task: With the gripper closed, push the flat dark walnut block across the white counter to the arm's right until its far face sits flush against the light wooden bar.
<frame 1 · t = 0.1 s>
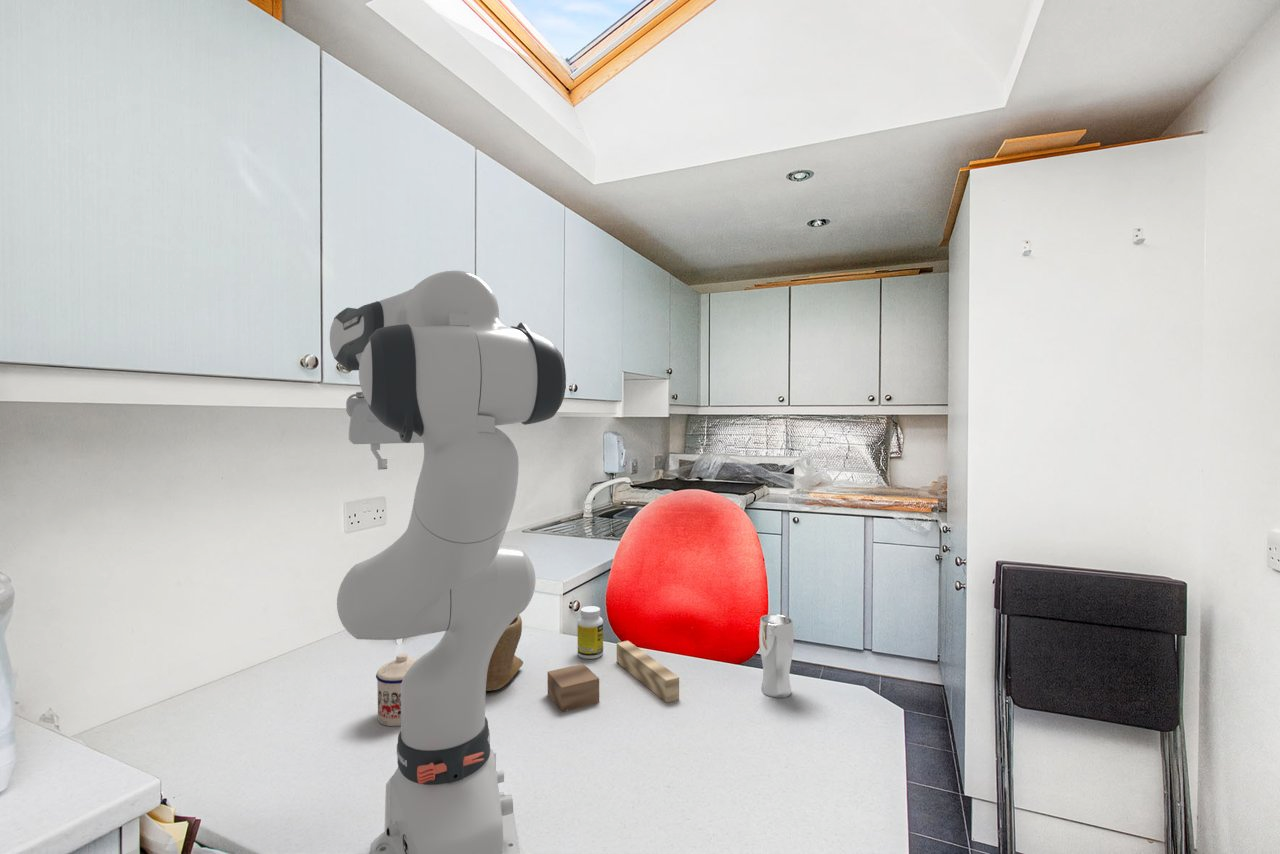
hand: (410, 468, 106), 48 cm above the countertop, tool pointing down, fingers open, 8 cm apart
stone cup: (497, 680, 126), on the countertop
block: (573, 699, 118), on the countertop
pill bottle: (590, 655, 139), on the countertop
silver metal tumbler: (776, 692, 121), on the countertop
light wooden bar: (645, 679, 126), on the countertop
teacup with lid: (409, 716, 111), on the countertop
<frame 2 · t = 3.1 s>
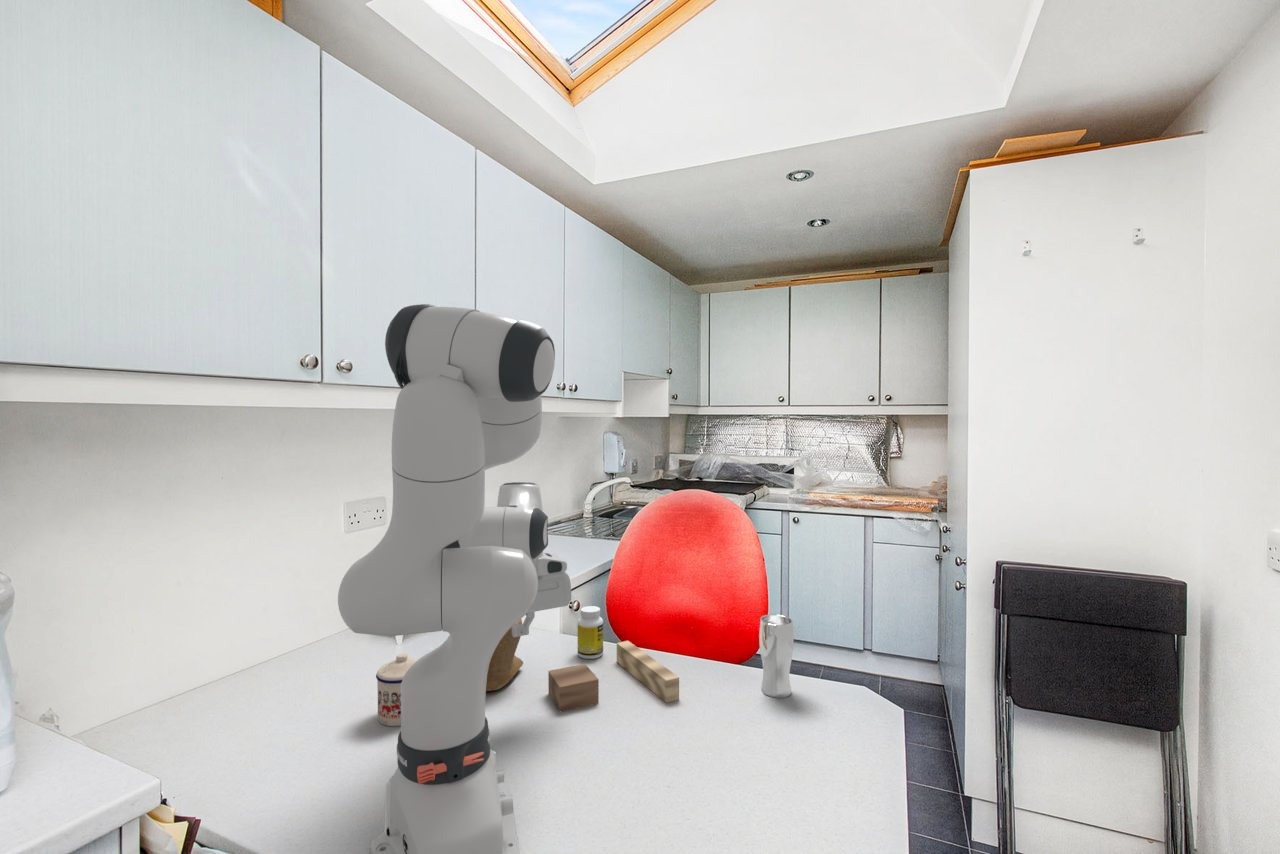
hand: (520, 635, 113), 15 cm above the countertop, tool pointing down, fingers closed
nothing on the countertop moved.
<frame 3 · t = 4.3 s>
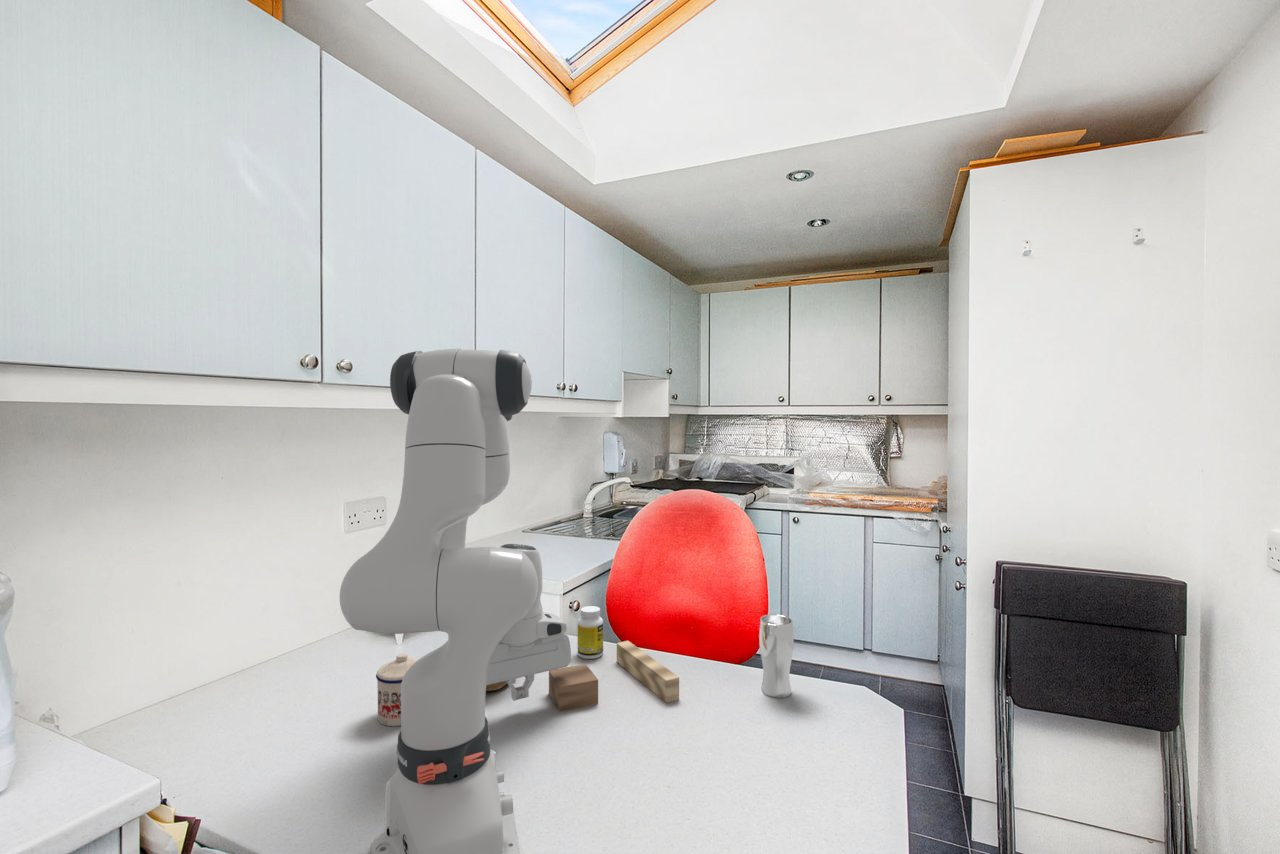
hand: (520, 697, 112), 3 cm above the countertop, tool pointing down, fingers closed
nothing on the countertop moved.
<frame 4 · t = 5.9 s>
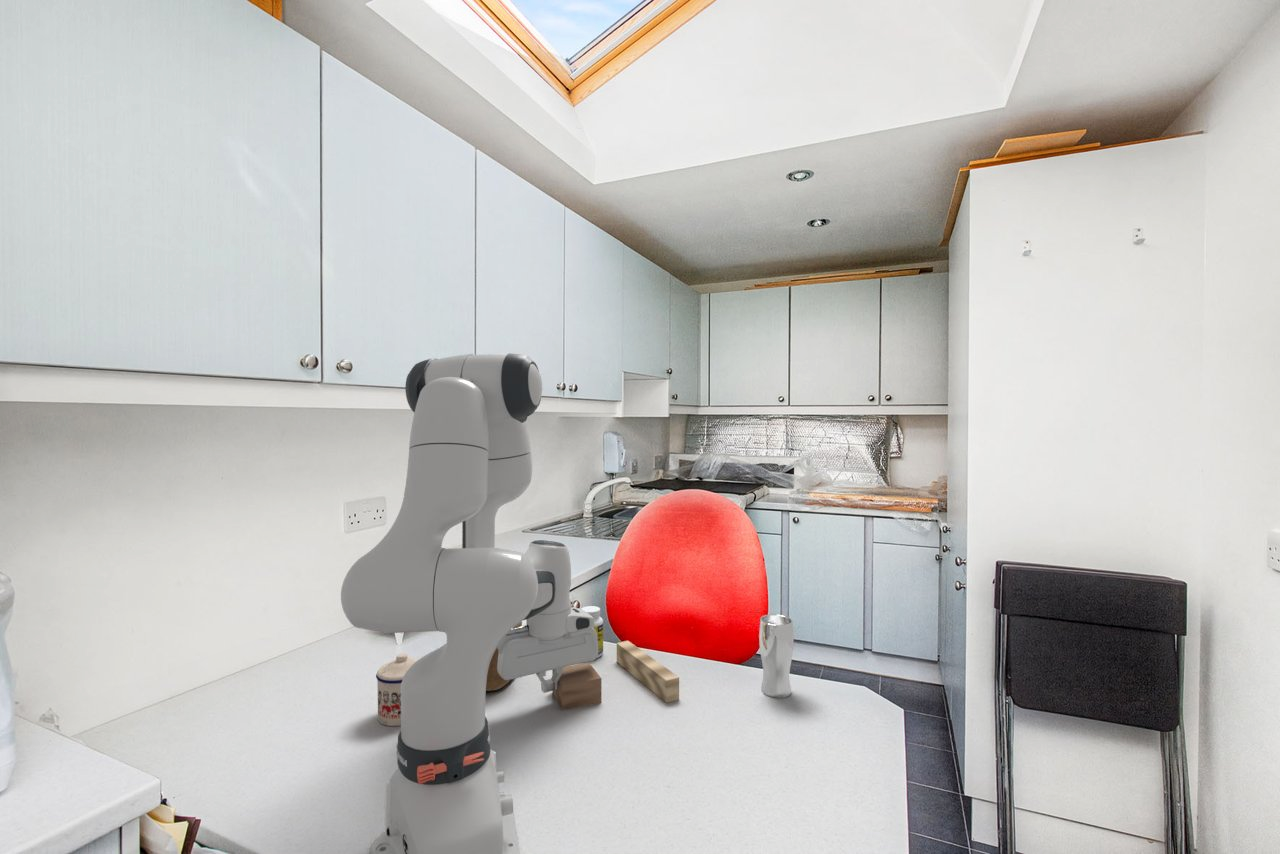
hand: (549, 690, 116), 3 cm above the countertop, tool pointing down, fingers closed
block: (576, 697, 118), on the countertop, touching gripper
everything else where it was.
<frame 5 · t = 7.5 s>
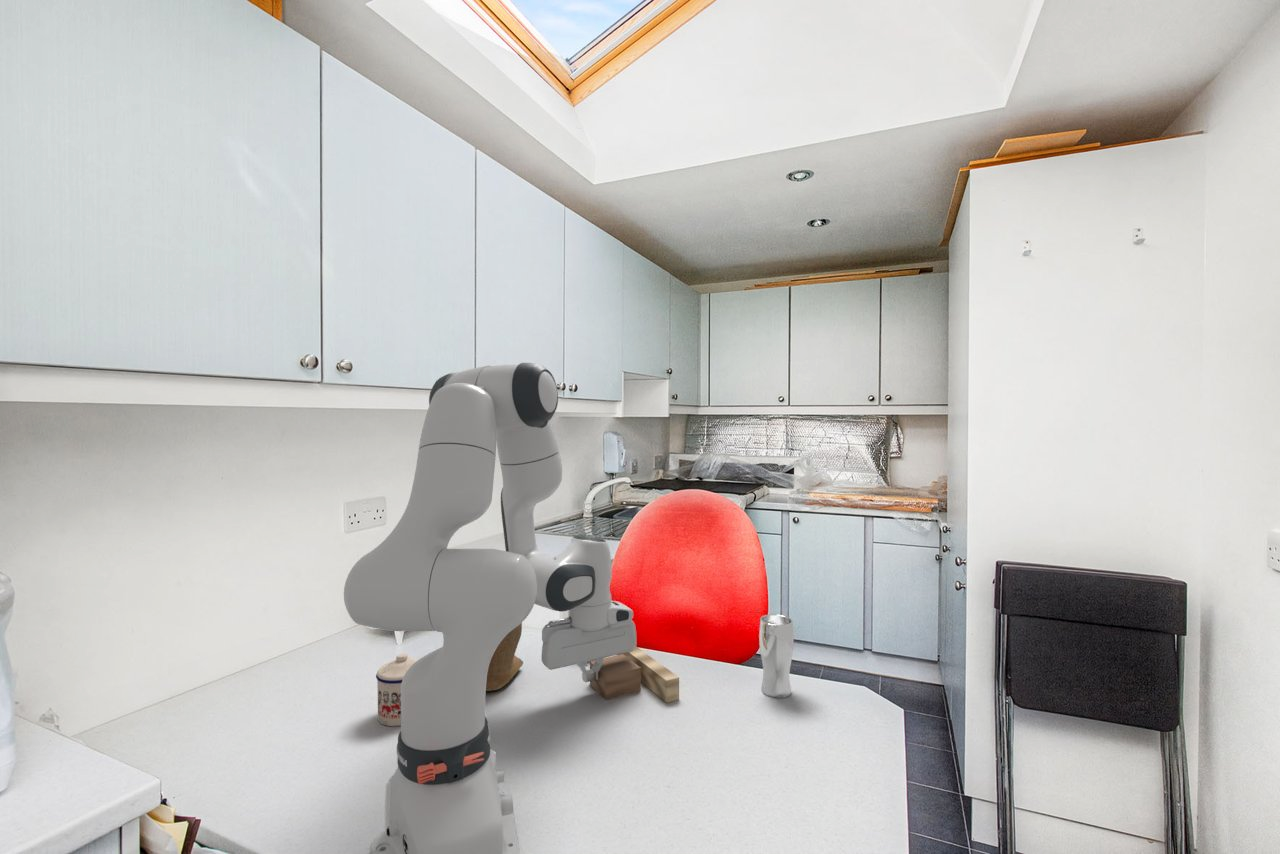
hand: (590, 680, 120), 3 cm above the countertop, tool pointing down, fingers closed
block: (615, 688, 123), on the countertop
everything else where it was.
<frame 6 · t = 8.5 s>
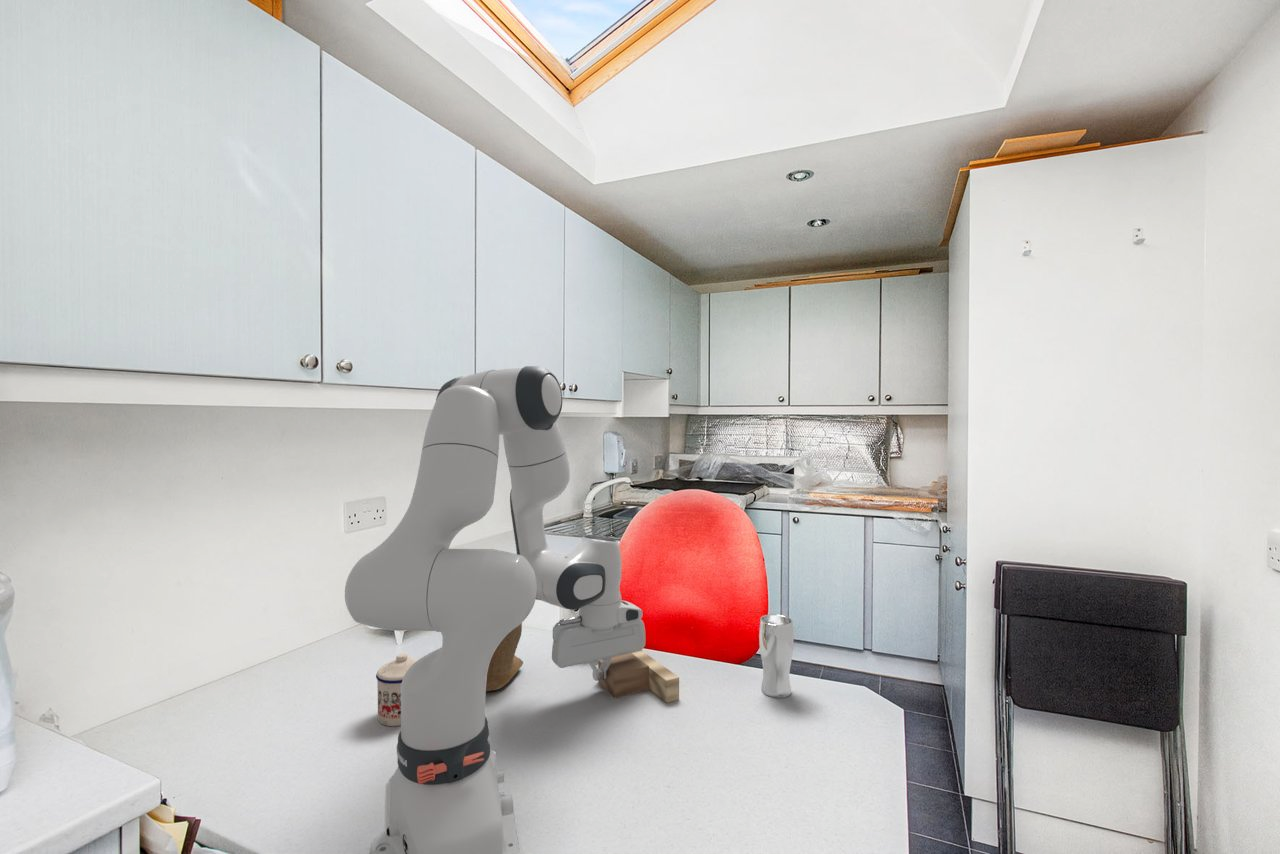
hand: (599, 678, 121), 3 cm above the countertop, tool pointing down, fingers closed
block: (623, 686, 123), on the countertop, touching light wooden bar, gripper
everything else where it was.
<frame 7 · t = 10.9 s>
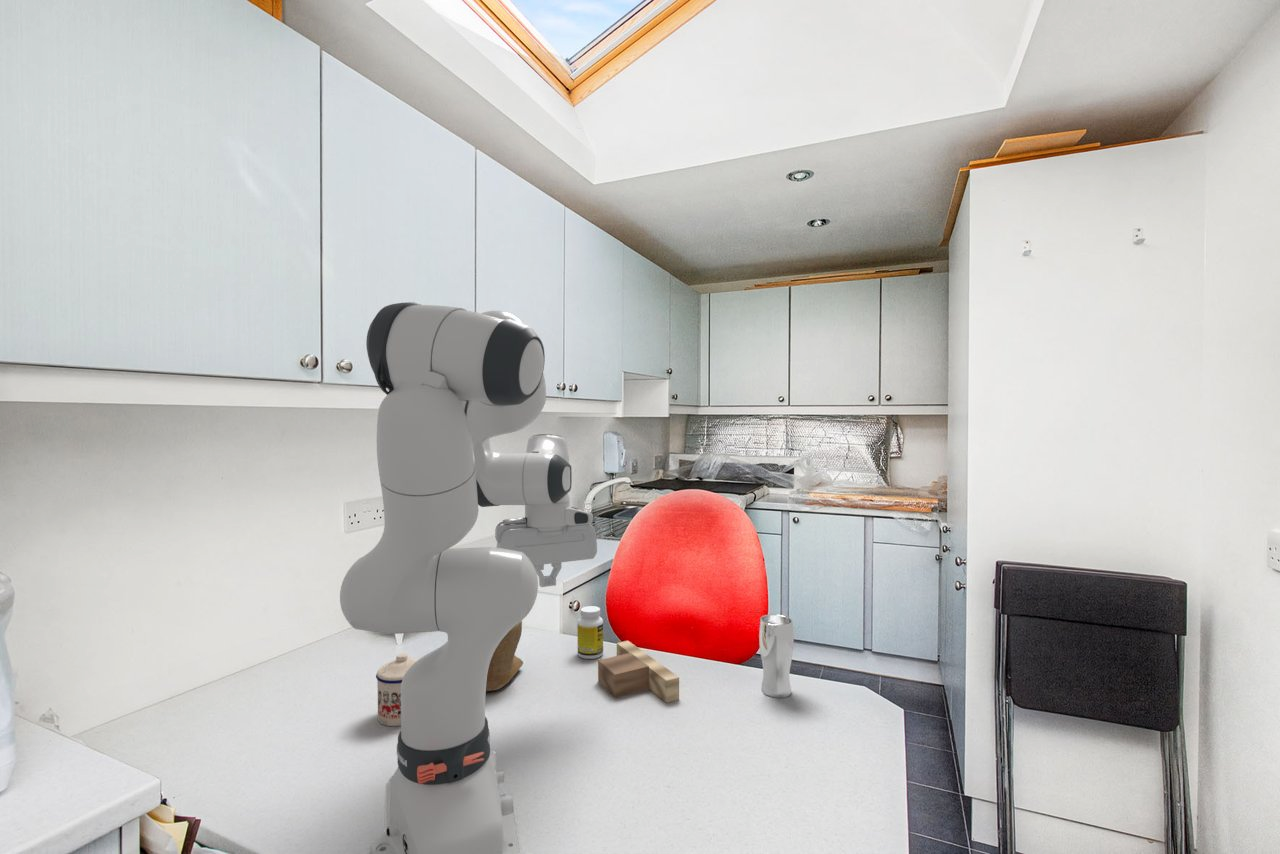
hand: (547, 585, 115), 24 cm above the countertop, tool pointing down, fingers closed
block: (623, 686, 123), on the countertop
everything else where it was.
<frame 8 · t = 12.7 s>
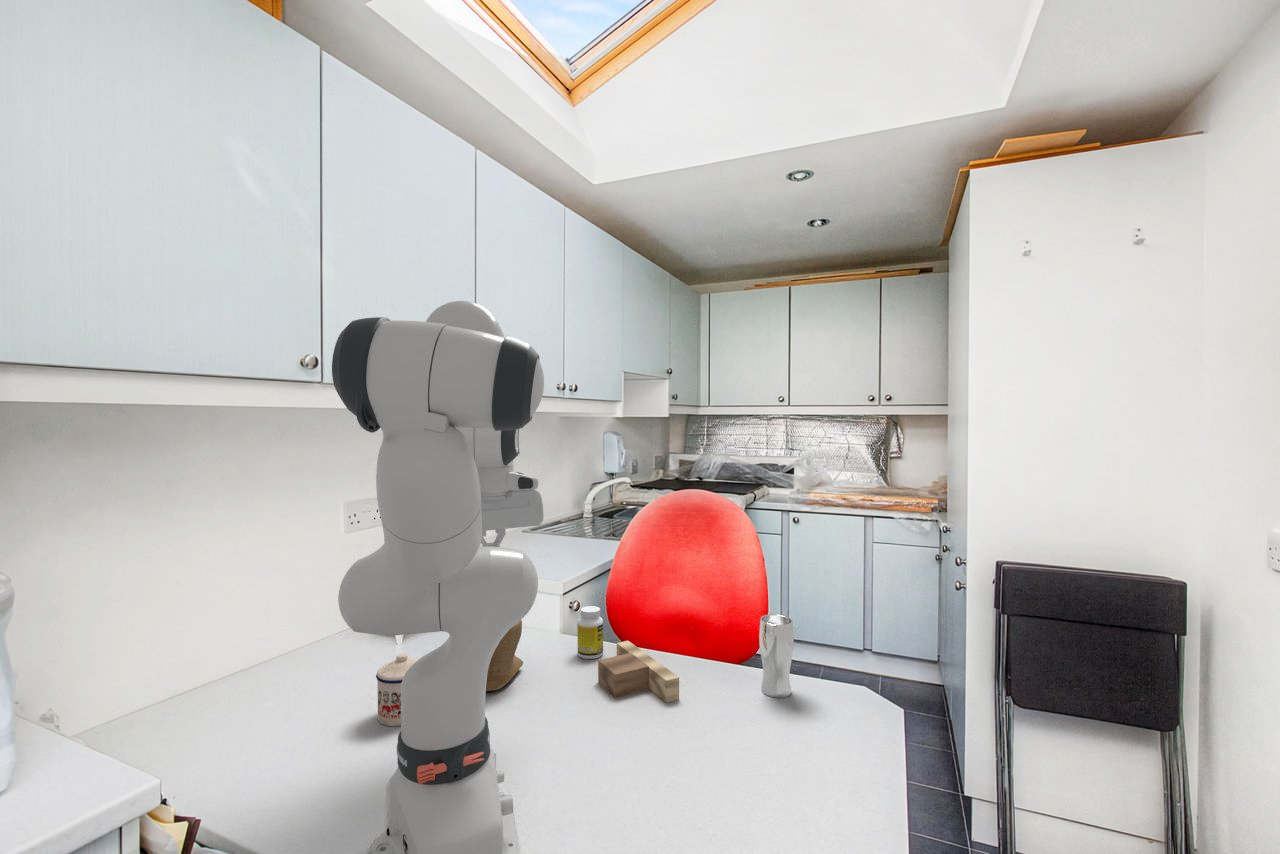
hand: (491, 553, 111), 31 cm above the countertop, tool pointing down, fingers closed
nothing on the countertop moved.
at the end: block inside the target area on the countertop beside the light wooden bar (0.1 cm from its centre), on the countertop; block tilted 0° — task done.
